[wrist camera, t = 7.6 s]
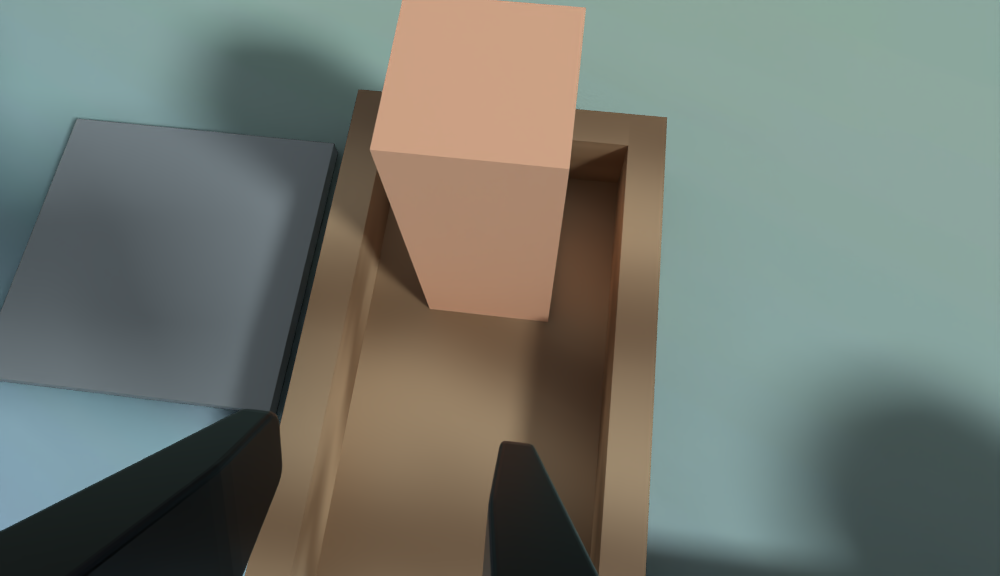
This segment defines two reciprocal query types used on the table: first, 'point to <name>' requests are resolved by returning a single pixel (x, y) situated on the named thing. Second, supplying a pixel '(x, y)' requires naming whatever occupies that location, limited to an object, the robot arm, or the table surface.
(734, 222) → the table surface
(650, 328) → the tray
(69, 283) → the mat
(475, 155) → the block
